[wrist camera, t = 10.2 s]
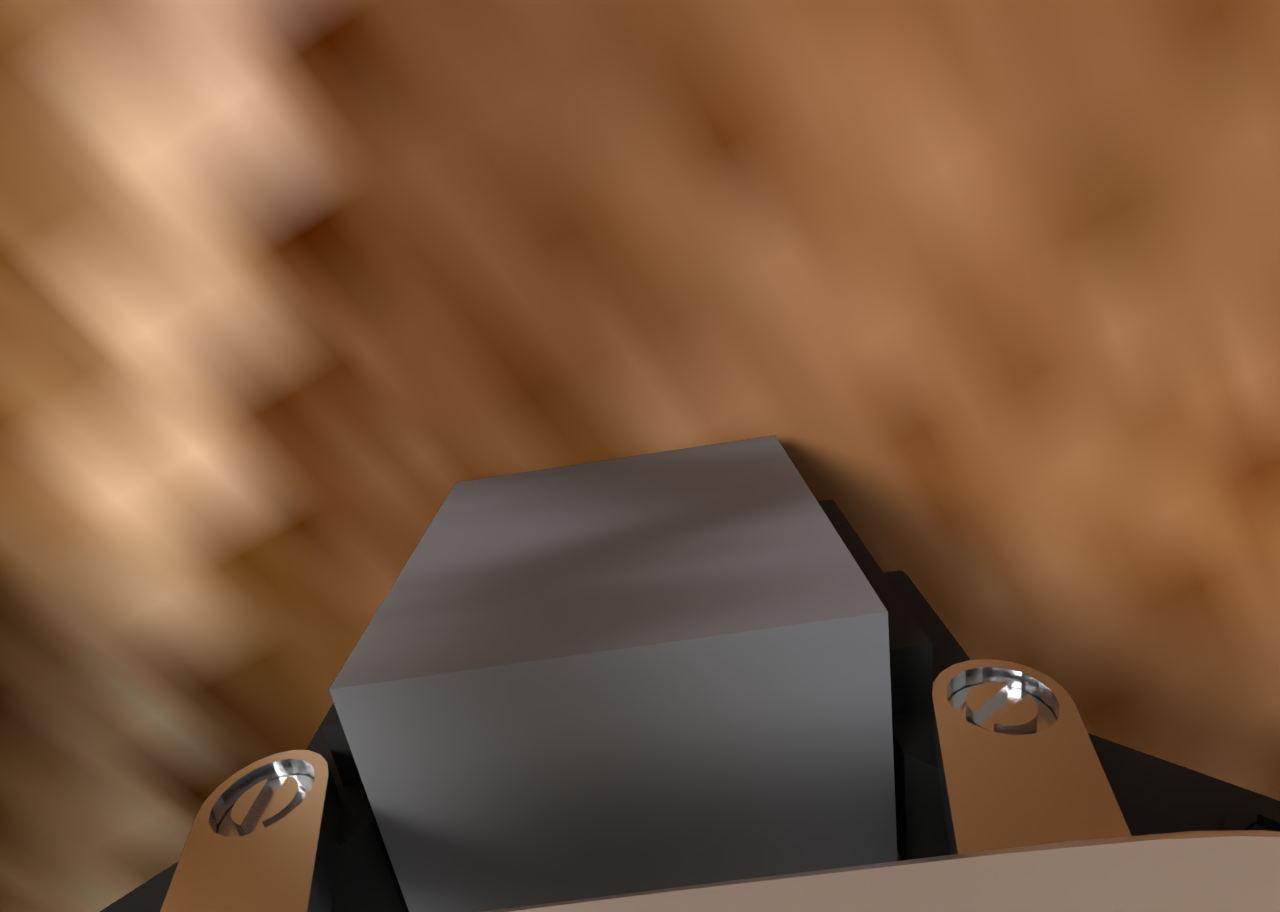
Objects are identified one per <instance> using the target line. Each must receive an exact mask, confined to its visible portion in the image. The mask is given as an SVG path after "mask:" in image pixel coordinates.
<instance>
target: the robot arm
mask: <svg viewBox="0 0 1280 912" xmlns="http://www.w3.org/2000/svg"><path fill="white" fill-rule="evenodd" d="M818 503H819V505H820V506H821V508H822V509H823V511H824V513H825V514H826V516H827V517H828V519H829V520H830V522H831V523H832V525H833V527H834V528H835V530H836V531H837V533H838V534H839V536H840V538H841V539H842V541H843V542H844V544H845V545H846V547H847V549H848V550H849V552H850V553H851V555H852V556H853V558H854V559H855V561H856V563H857V564H858V566H859V567H860V569H861V570H862V572H863V574H864V575H865V577H866V578H867V580H868V581H869V583H870V585H871V586H872V588H873V589H874V591H875V592H876V594H877V595H878V597H879V599H880V600H881V602H882V603H883V605H884V606H885V608H886V610H887V611H888V627H889V653H890V678H891V704H892V730H893V756H894V782H895V808H896V834H897V860H898V861H894V862H886V863H877V864H869V865H860V866H852V867H843V868H835V869H826V870H818V871H809V872H801V873H792V874H784V875H775V876H767V877H758V878H750V879H741V880H733V881H725V882H717V883H708V884H700V885H692V886H684V887H676V888H668V889H660V890H651V891H643V892H635V893H627V894H619V895H611V896H603V897H595V898H587V899H579V900H571V901H563V902H555V903H547V904H539V905H531V906H523V907H515V908H507V909H499V910H491V911H483V912H1280V801H1278V800H1275V799H1272V798H1269V797H1267V796H1264V795H1261V794H1258V793H1255V792H1252V791H1250V790H1247V789H1244V788H1241V787H1238V786H1235V785H1233V784H1230V783H1227V782H1224V781H1221V780H1218V779H1216V778H1213V777H1210V776H1207V775H1204V774H1202V773H1199V772H1196V771H1193V770H1190V769H1187V768H1185V767H1182V766H1179V765H1176V764H1173V763H1170V762H1168V761H1165V760H1162V759H1159V758H1156V757H1153V756H1151V755H1148V754H1145V753H1142V752H1139V751H1136V750H1134V749H1131V748H1128V747H1125V746H1122V745H1120V744H1117V743H1114V742H1111V741H1108V740H1105V739H1103V738H1100V737H1097V736H1094V735H1091V734H1088V733H1087V730H1086V728H1085V726H1084V723H1083V721H1082V719H1081V716H1080V714H1079V712H1078V709H1077V707H1076V705H1075V702H1074V701H1073V700H1072V698H1071V697H1070V695H1069V694H1068V692H1067V691H1066V689H1065V688H1063V687H1062V686H1061V685H1060V684H1058V683H1057V682H1056V681H1055V680H1053V679H1052V678H1051V677H1049V676H1047V675H1045V674H1043V673H1041V672H1039V671H1037V670H1035V669H1033V668H1031V667H1028V666H1024V665H1021V664H1018V663H1014V662H1011V661H1003V660H995V659H978V660H970V658H969V657H968V656H967V654H966V653H965V652H964V650H963V649H962V648H961V646H960V645H959V644H958V642H957V641H956V640H955V638H954V637H953V636H952V634H951V633H950V632H949V630H948V629H947V628H946V626H945V625H944V624H943V622H942V621H941V620H940V618H939V617H938V616H937V614H936V613H935V612H934V610H933V609H932V608H931V607H930V605H929V604H928V603H927V601H926V600H925V599H924V597H923V596H922V595H921V593H920V592H919V591H918V589H917V588H916V587H915V585H914V584H913V583H912V581H911V580H910V579H909V577H908V576H907V575H906V574H905V573H904V572H903V571H894V572H886V573H883V572H882V570H881V569H880V568H879V566H878V565H877V563H876V562H875V560H874V559H873V557H872V556H871V555H870V553H869V552H868V550H867V549H866V547H865V546H864V544H863V543H862V542H861V540H860V539H859V537H858V536H857V534H856V533H855V531H854V530H853V529H852V527H851V526H850V524H849V523H848V521H847V520H846V518H845V517H844V516H843V514H842V513H841V511H840V510H839V508H838V507H837V505H836V504H835V503H834V501H833V500H826V501H819V502H818ZM100 912H409V910H408V907H407V905H406V902H405V899H404V896H403V893H402V891H401V888H400V885H399V882H398V880H397V877H396V874H395V871H394V868H393V866H392V863H391V860H390V857H389V855H388V852H387V849H386V846H385V844H384V841H383V838H382V835H381V832H380V830H379V827H378V824H377V821H376V819H375V816H374V813H373V810H372V808H371V805H370V802H369V799H368V796H367V794H366V791H365V788H364V785H363V783H362V780H361V777H360V774H359V771H358V769H357V766H356V763H355V760H354V758H353V755H352V752H351V749H350V747H349V744H348V741H347V738H346V735H345V733H344V730H343V727H342V724H341V722H340V719H339V716H338V713H337V710H336V708H335V705H334V703H333V705H332V707H331V708H330V710H329V712H328V713H327V715H326V717H325V718H324V720H323V722H322V724H321V725H320V727H319V729H318V730H317V732H316V734H315V735H314V737H313V739H312V741H311V742H310V744H309V746H308V747H307V749H306V750H290V751H286V752H281V753H276V754H273V755H270V756H268V757H265V758H263V759H260V760H258V761H255V762H253V763H252V764H250V765H248V766H246V767H245V768H243V769H241V770H239V771H238V772H236V773H235V774H233V775H232V776H231V777H229V778H228V779H227V780H226V781H224V782H223V783H222V784H221V785H219V786H218V787H217V788H216V789H215V790H214V791H213V793H212V794H211V795H210V796H209V797H208V798H207V799H206V800H205V801H204V803H203V805H202V806H201V808H200V810H199V812H198V814H197V815H196V817H195V820H194V822H193V825H192V828H191V830H190V833H189V836H188V838H187V841H186V844H185V846H184V849H183V852H182V854H181V857H180V860H179V861H178V862H177V863H175V864H174V865H172V866H171V867H169V868H167V869H166V870H164V871H163V872H161V873H160V874H158V875H156V876H155V877H153V878H152V879H150V880H149V881H147V882H146V883H144V884H142V885H141V886H139V887H138V888H136V889H135V890H133V891H131V892H130V893H128V894H127V895H125V896H124V897H122V898H120V899H119V900H117V901H116V902H114V903H113V904H111V905H109V906H108V907H106V908H105V909H103V910H102V911H100Z"/></svg>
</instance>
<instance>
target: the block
mask: <svg viewBox="0 0 1280 912" xmlns="http://www.w3.org/2000/svg"><path fill="white" fill-rule="evenodd" d="M329 691H330V694H331V697H332V699H333V702H334V705H335V708H336V710H337V713H338V716H339V719H340V722H341V724H342V727H343V730H344V733H345V735H346V738H347V741H348V744H349V747H350V749H351V752H352V755H353V758H354V760H355V763H356V766H357V769H358V771H359V774H360V777H361V780H362V783H363V785H364V788H365V791H366V794H367V796H368V799H369V802H370V805H371V808H372V810H373V813H374V816H375V819H376V821H377V824H378V827H379V830H380V832H381V835H382V838H383V841H384V844H385V846H386V849H387V852H388V855H389V857H390V860H391V863H392V866H393V868H394V871H395V874H396V877H397V880H398V882H399V885H400V888H401V891H402V893H403V896H404V899H405V902H406V905H407V907H408V910H409V912H483V911H491V910H499V909H507V908H515V907H523V906H531V905H539V904H547V903H555V902H563V901H571V900H579V899H587V898H595V897H603V896H611V895H619V894H627V893H635V892H643V891H651V890H660V889H668V888H676V887H684V886H692V885H700V884H708V883H717V882H725V881H733V880H741V879H750V878H758V877H767V876H775V875H784V874H792V873H801V872H809V871H818V870H826V869H835V868H843V867H852V866H860V865H869V864H877V863H886V862H894V861H898V860H897V834H896V808H895V782H894V756H893V730H892V704H891V678H890V653H889V627H888V611H887V610H886V608H885V606H884V605H883V603H882V602H881V600H880V599H879V597H878V595H877V594H876V592H875V591H874V589H873V588H872V586H871V585H870V583H869V581H868V580H867V578H866V577H865V575H864V574H863V572H862V570H861V569H860V567H859V566H858V564H857V563H856V561H855V559H854V558H853V556H852V555H851V553H850V552H849V550H848V549H847V547H846V545H845V544H844V542H843V541H842V539H841V538H840V536H839V534H838V533H837V531H836V530H835V528H834V527H833V525H832V523H831V522H830V520H829V519H828V517H827V516H826V514H825V513H824V511H823V509H822V508H821V506H820V505H819V503H818V502H817V500H816V498H815V497H814V495H813V494H812V492H811V491H810V489H809V487H808V486H807V484H806V483H805V481H804V480H803V478H802V476H801V475H800V473H799V472H798V470H797V469H796V467H795V466H794V464H793V462H792V461H791V459H790V458H789V456H788V455H787V453H786V451H785V450H784V448H783V447H782V445H781V444H780V442H779V440H778V439H777V437H776V436H775V435H773V436H767V437H760V438H753V439H747V440H740V441H733V442H726V443H720V444H713V445H706V446H699V447H693V448H686V449H679V450H672V451H666V452H659V453H652V454H645V455H639V456H632V457H625V458H619V459H612V460H605V461H598V462H592V463H585V464H578V465H571V466H565V467H558V468H551V469H544V470H538V471H531V472H524V473H518V474H511V475H504V476H497V477H491V478H484V479H477V480H470V481H464V482H457V483H456V484H455V485H454V487H453V488H452V490H451V492H450V493H449V495H448V497H447V498H446V500H445V501H444V503H443V505H442V506H441V508H440V510H439V511H438V513H437V514H436V516H435V518H434V519H433V521H432V523H431V524H430V526H429V527H428V529H427V531H426V532H425V534H424V536H423V537H422V539H421V540H420V542H419V544H418V545H417V547H416V549H415V550H414V552H413V554H412V555H411V557H410V558H409V560H408V562H407V563H406V565H405V567H404V568H403V570H402V571H401V573H400V575H399V576H398V578H397V580H396V581H395V583H394V584H393V586H392V588H391V589H390V591H389V593H388V594H387V596H386V597H385V599H384V601H383V602H382V604H381V606H380V607H379V609H378V610H377V612H376V614H375V615H374V617H373V619H372V620H371V622H370V624H369V625H368V627H367V628H366V630H365V632H364V633H363V635H362V637H361V638H360V640H359V641H358V643H357V645H356V646H355V648H354V650H353V651H352V653H351V654H350V656H349V658H348V659H347V661H346V663H345V664H344V666H343V667H342V669H341V671H340V672H339V674H338V676H337V677H336V679H335V680H334V682H333V684H332V685H331V687H330V689H329Z"/></svg>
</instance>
